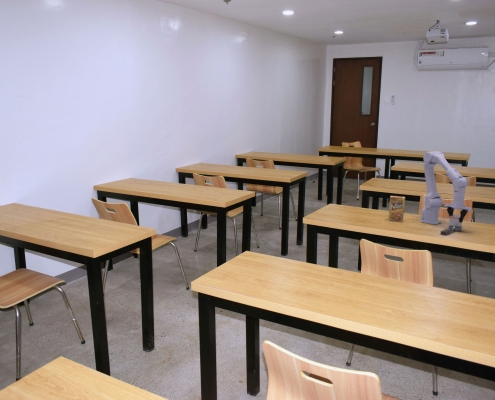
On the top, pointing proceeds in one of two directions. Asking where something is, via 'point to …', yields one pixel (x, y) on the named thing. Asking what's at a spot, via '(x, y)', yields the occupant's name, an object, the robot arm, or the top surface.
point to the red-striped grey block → (455, 220)
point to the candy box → (396, 208)
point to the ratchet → (451, 230)
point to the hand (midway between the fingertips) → (456, 221)
